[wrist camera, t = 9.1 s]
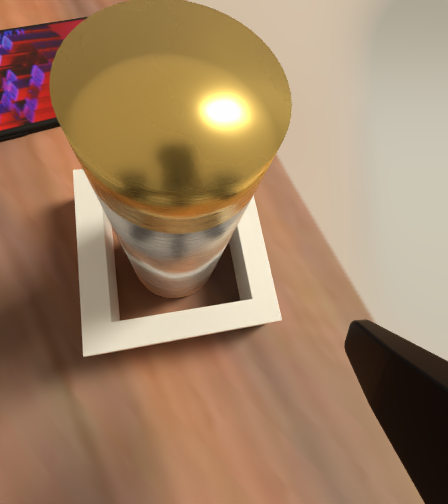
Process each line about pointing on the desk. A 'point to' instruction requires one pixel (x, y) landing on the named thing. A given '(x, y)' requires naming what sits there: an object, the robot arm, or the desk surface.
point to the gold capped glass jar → (170, 129)
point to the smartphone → (29, 76)
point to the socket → (169, 324)
